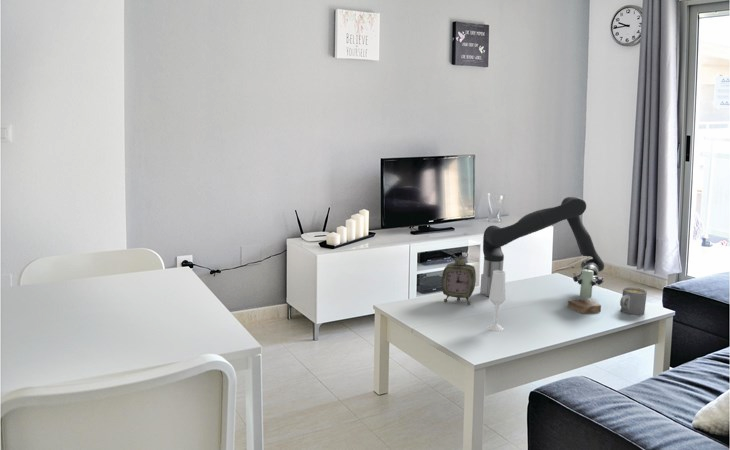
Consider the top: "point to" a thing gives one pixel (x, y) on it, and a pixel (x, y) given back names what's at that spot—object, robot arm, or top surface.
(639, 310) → the coffee mug
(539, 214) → the robot arm
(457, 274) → the tabletop clock
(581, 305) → the walnut block
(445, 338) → the top surface
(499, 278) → the champagne flute
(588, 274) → the candle
